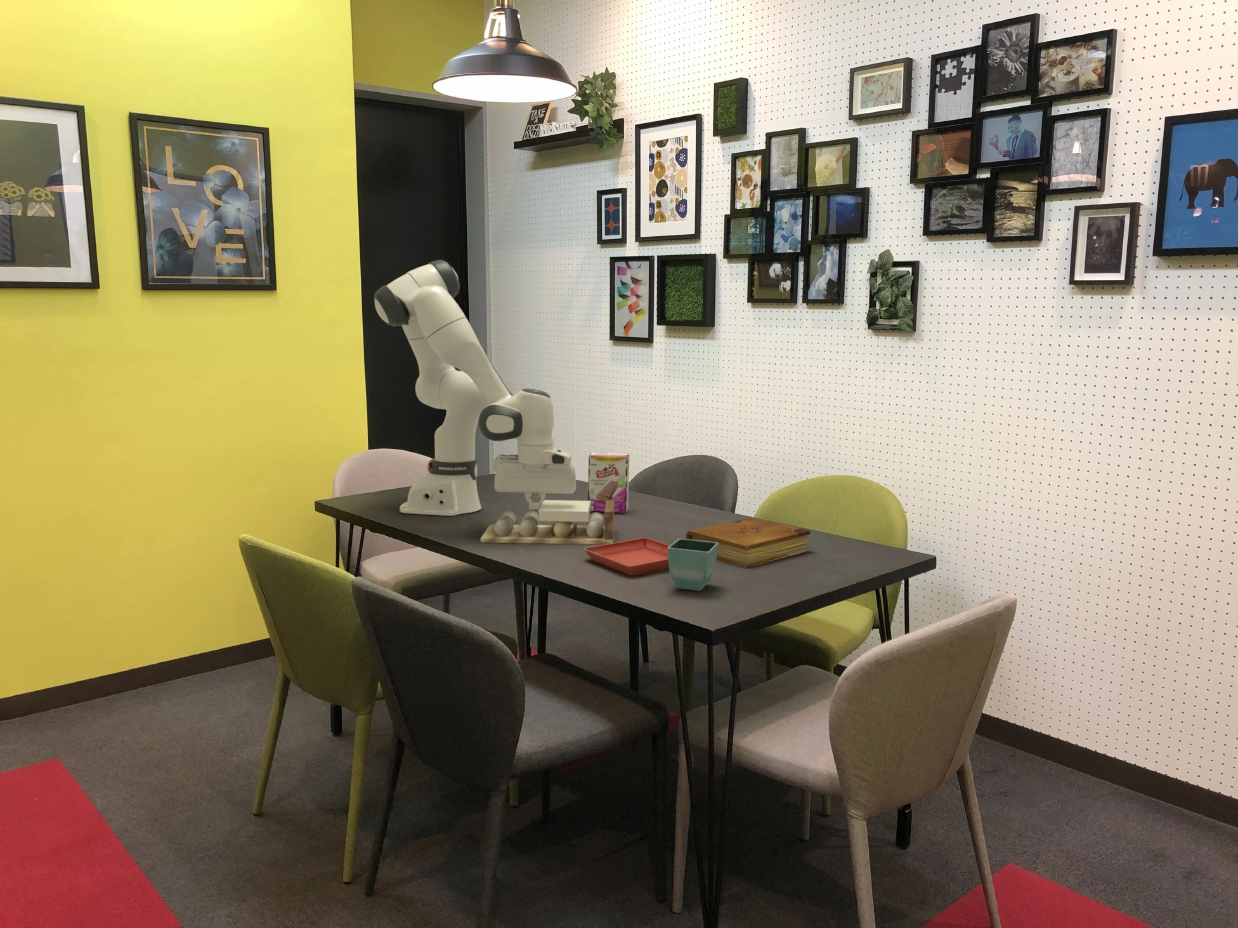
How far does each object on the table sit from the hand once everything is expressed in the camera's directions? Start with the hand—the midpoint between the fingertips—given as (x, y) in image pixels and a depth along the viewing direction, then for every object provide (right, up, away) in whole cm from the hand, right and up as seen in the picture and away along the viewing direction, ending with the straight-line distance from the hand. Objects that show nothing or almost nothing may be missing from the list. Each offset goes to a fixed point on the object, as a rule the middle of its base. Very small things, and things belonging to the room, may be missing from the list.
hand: (535, 510), depth 231 cm
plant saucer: (+25, -11, -23) cm, 35 cm away
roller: (+7, -6, +1) cm, 9 cm away
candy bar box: (+18, -2, +31) cm, 36 cm away
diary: (+51, -10, -11) cm, 53 cm away
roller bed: (+3, -7, +1) cm, 7 cm away
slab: (+7, -1, 0) cm, 8 cm away
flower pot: (+36, -14, -40) cm, 56 cm away
